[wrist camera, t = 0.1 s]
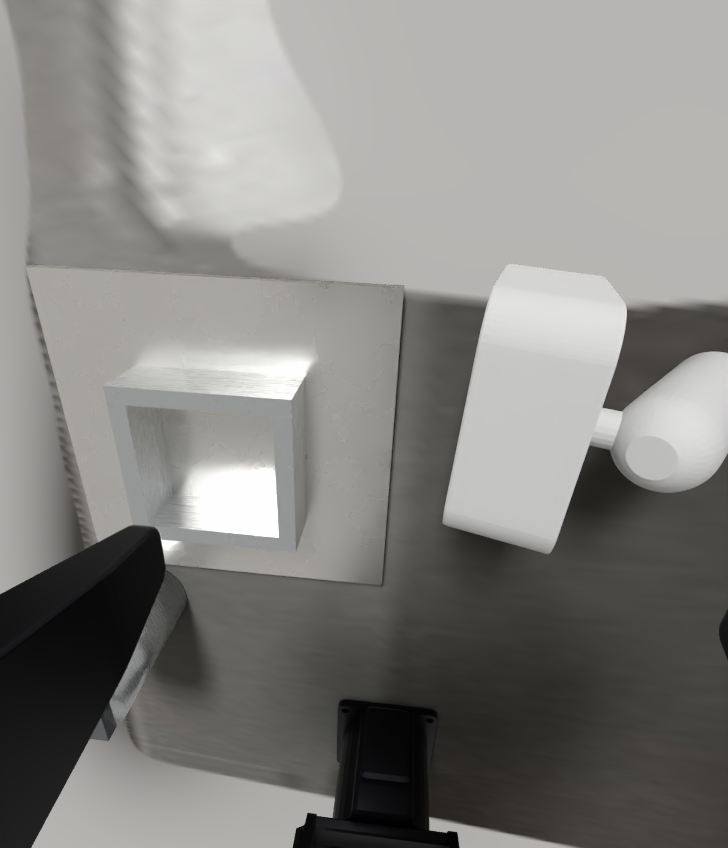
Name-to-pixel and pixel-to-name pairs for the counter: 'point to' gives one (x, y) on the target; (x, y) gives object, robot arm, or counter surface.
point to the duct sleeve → (144, 654)
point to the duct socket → (230, 413)
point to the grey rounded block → (570, 409)
